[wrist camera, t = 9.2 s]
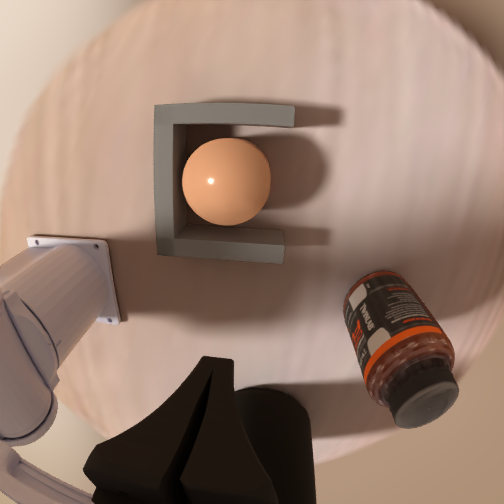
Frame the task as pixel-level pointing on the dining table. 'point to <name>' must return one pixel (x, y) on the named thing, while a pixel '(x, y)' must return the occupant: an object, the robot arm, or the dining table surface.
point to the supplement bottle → (400, 349)
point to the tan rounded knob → (227, 181)
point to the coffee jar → (280, 442)
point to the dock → (171, 190)
